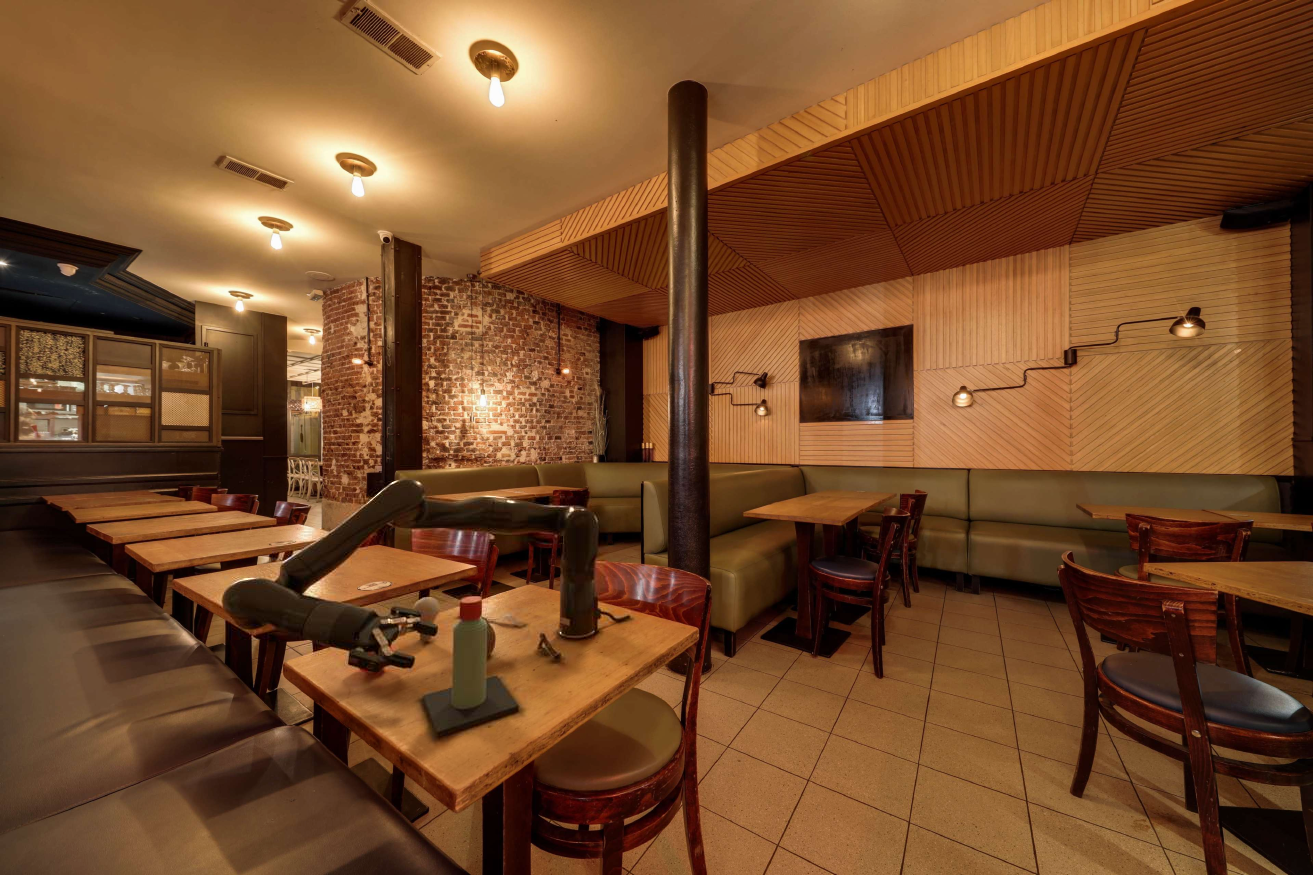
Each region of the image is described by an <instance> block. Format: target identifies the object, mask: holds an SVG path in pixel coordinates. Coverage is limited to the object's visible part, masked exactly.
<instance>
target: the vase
mask: <svg viewBox="0 0 1313 875" xmlns="http://www.w3.org/2000/svg"><path fill="white" fill-rule="evenodd" d="M485 617H486V616H483V617H481V618H482V619H484V620H485V621H486V622H487V658H489V656H490V655H491V654H492V653H493V652H494V649H495V646H496V642H497V641H496V639H497V637H496V632H495V629H494V627H493V626H492V625H491V624H490V623H489V621H488V619H486V618H485Z"/></svg>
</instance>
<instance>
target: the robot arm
mask: <svg viewBox="0 0 1313 875" xmlns="http://www.w3.org/2000/svg"><path fill="white" fill-rule="evenodd" d="M597 518H598V517H597V515H596V514H595V513H594V512H593V511H591V510H589V508H586V507H584V506H581V505H550V504H549V505H548V504H541V503H535V502H531V501H527V500H521V499H515V498H509V497H504V496H503V497H502V496H495V495H481V496H474V497H469V498H466V499H460V500H455V501H454V500H453V501H441V500H433V499H427V493H426V488H425V487H424V485H423V484H422V483H421V482H419V481H418V480H416V479H411V478H402V479H398V480H395V481H393V482H391V483H389V484H388V485H387V486H385V487H384V488H383V489H382V490H381V491H380V492H378V493H377V494H376V495H375V496H374V497H372V498H371V499H370V500H369V501H368V502H367V503H366V504H364V505H363V506H362V507H361V508H360V509H358V510H357V511H356V512H355V513H353V514H352V515H351V516H349V517H348V518H346V519H345V520H343V522H342V523H340V524H339V525H337V526H336V527H334V528H333V529H331V531H329V532H327V533H326V534H324V535H323V536H322V537H320V538H318V539H316V540H315V541H314V542H312V543H310V544H308V545H307V546H306V547H304V548H303V549H301V550H299V551H298V552H296V553H294V555H291V556H290V557H288V558H287V559H286V560H284V561H283V562H282V563H281V564H280V567H279V575H278V577H277V578H276V579H275V580H271V579H268V578H264V577H247V578H242V579H240V580H237V581H235V582H233V583H232V584H230V585H229V586H228V587H227V588H226V589H225V590H224V592H223V594H222V597H221V606H222V608H223V610H224V612H225V613H226V614H227V615H228V616H229V617H230V618H231V620H232V621H233V622H234V623H235V624H236V625H237V626H238V627H239V628H240V629H244V630H248V631H253V630H258V629H261V628H263V627H266V626H268V625H271V626H272V627H273V628H275V629H276V631H279V632H280V633H282V634H285V635H288V636H292V637H296V638H301V639H304V640H308V641H311V642H313V643H315V644H318V645H322V646H326V647H330V648H334V649H338V650H341V651H342V650H343V651H347V652H348V656H347V657H348V658H347V665H348V666H351V667H353V668H357V669H359V668H360V669H364V670H367V671H370V672H374V673H373V674H379V673H381V672H382V671H383V669H384V667H385V666H386V667H385V668H387V667H390V666H392V667H396V668H401V669H402V670H403V669H404V670H405V669H412V668H413V667H414V665H415V663H416V657H415V656H414V655H412V654H408V653H403V652H399V651H396V650H395V651H393V652H392V650H393V649H392V650H391V649H390V646H392V644H393V643H394V642H395V641H396V640H397V639H398V638H399V637H403V636H405V635H407V634H409V633H414V632H416V634H420V633H421V634H425V635H429V636H431V637H432V638H433V637H434V638H435V637H436V636H437V635H438V631H439V626H438V625H437V624H436V623H435V622H434V623H429V622H426V621H422V620H421V615H422V612H421V611H418V610H413V608H407V607H402V606H398V605H393V606H391V608H390V612H389V613H388V614H387V615H379V614H378V613H377V612H376V611H375V610H374V609H372V608H371V609H370V608H367V607H363V606H358V605H354V604H351V603H347V602H344V601H343V602H342V601H338V600H337V601H336V600H330V599H329V600H328V599H324V598H320V597H316V596H312V595H308V594H305V592H307V590H308V589H310V587H312V586H314V585H315V584H316V583H318V582H319V581H321V580H323V579H324V578H325V577H327V576H329V574H331V573H333V571H335V570H336V569H338V568H339V567H340V566H342V565H343V564H344V563H346V562H347V560H349V558H351V556H352V555H353V554H354V553H356V552H357V550H359V548H361V546H362V545H363V544H364V543H365V542H366V541H367V540H368V539H369V538H370V537H372V536H373V535H374V534H375V533H376V532H377V531H379V530H380V529H381V528H383V527H384V526H385V525H389V526H391V527H394V528H397V529H403V530H406V529H407V530H415V529H416V530H426V529H427V530H430V529H431V530H433V529H434V530H436V529H437V530H454V531H463V532H476V533H484V534H492V535H510V536H511V535H523V534H531V533H544V534H552V535H556V536H561V537H562V555H561V557H560V578H559V579H560V582H559V584H560V585H559V586H560V587H559V625H558V626H559V629H558V634H559V635H560V637H562V638H565V639H570V640H579V639H585V638H589V637H591V636H593V635H594V634H595V633H598V632H599V629H598V627H599V620H601V619H602V616H607V617H609V618H610V619H611V620H612V621H614V622H617V623H619V622H620V623H621V622H623V621H626V620H628V619H631V615H630V614H628V615H625V616H623V617H619V618H618V617H617V618H616V617H615V616H614V615H613V614H612V613H611V612H608V611H604V610H602V609H601V608H600V607H599V596H598V595H597V594H596V563H597V558H598V554H599V534H600V532H599V521H598V519H597ZM413 616H415V617H413ZM399 625H401V626H399ZM368 652H373V653H374V654H375V655H373V654H370V653H368ZM370 662H372V663H375V664H372V663H370ZM382 668H383V669H382ZM360 669H359V670H360Z"/></svg>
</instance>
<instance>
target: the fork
mask: <svg viewBox="0 0 1313 875" xmlns="http://www.w3.org/2000/svg"><path fill="white" fill-rule="evenodd" d="M481 617H485V618H486V620H490V621H492V620H493V621H494V620H498V619H504V620H507V621H509V622H511V623H513V624H514V625H516V626H517V627H519V628H521V627H523V626H525V623H523V622H522V621H521V620H519V619H518V618H516V617H515V616H514V615H512V614H509V613H507V614H502V615H501V616H499V617H488V616H483V615H481Z"/></svg>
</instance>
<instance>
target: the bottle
mask: <svg viewBox="0 0 1313 875" xmlns="http://www.w3.org/2000/svg"><path fill="white" fill-rule="evenodd" d="M487 622H488V621H487ZM487 622H486V621H485V620H484V619H482V618H481V617H480V618H478V619H475V620H468V621H465V620H461V619H459V620H458V621H457V622H456V623H455V624H454V626H453V628H452V630H453V631H452V667H451V668H452V670H451V671H452V673H451V674H452V676H451V687H452V706H453V707H455V708H458V709H469V708H473V707H476V706H478V705H480V704H481V703H483V702H484V701H485V699H486V678H487V660H488V659H487V658H488V657H487Z"/></svg>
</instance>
